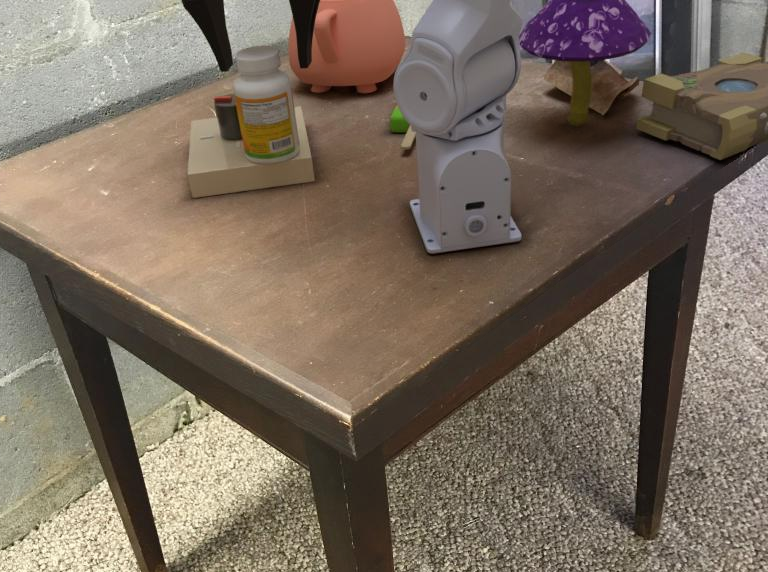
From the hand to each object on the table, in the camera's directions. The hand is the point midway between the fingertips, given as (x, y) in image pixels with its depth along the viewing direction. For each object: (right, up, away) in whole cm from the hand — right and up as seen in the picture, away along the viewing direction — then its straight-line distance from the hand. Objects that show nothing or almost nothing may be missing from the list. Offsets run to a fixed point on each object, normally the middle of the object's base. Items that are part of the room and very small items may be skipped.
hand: (266, 66), depth 82 cm
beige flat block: (-3, -6, +9) cm, 11 cm away
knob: (-4, -4, +9) cm, 10 cm away
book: (+45, -4, +5) cm, 46 cm away
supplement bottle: (0, -7, +4) cm, 8 cm away
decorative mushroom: (+31, -3, +8) cm, 32 cm away
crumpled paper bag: (+32, +4, +11) cm, 34 cm away
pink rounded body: (+8, +8, +26) cm, 29 cm away
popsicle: (+15, -2, +12) cm, 20 cm away
